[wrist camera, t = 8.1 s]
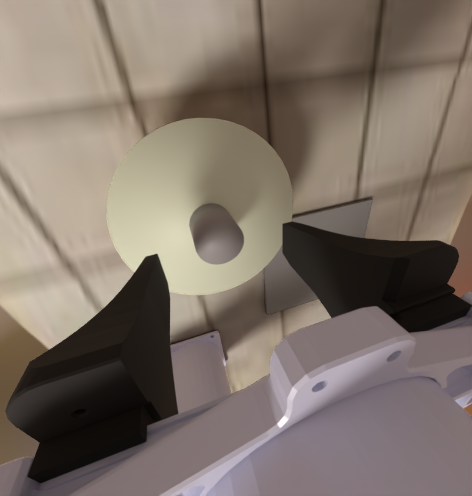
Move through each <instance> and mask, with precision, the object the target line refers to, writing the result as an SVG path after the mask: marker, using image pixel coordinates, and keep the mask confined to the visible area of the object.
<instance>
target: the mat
mask: <svg viewBox="0 0 472 496" xmlns="http://www.w3.org/2000/svg"><path fill="white" fill-rule="evenodd" d="M372 201H373V199H366V200H362V201H357V202H353V203H349V204H345V205H340V206H336V207H332V208H328V209H323V210H319V211H315V212H311V213H306V214H302V215H298V216H294V217H292V219H291V222H298V223H302V224H305V225H309V226H312V227H316V228H319V229H323V230H326V231H330V232H334V233H338V234H343V235H348V236H353V237H359V238H364V236H365V231H366V227H367V223H368V218H369V214H370V210H371V205H372ZM264 285H265V305H266V314H267V315H269V314H272V313H276V312H279V311H282V310H285V309H288V308H291V307H294V306H297V305H301V304H304V303H307V302H310V301H313V300H316V299H319V298H318V297H317V296H316V294H315V293H314V292H313V291H312V290H311V288H310V287H309V286H308V285H307V284H306V283H305V282H304V281H303V279H302V278H301V277H300V276H299V275H298V274H297V273H296V271H295V270H294V269H293V268H292V267H291V266H290V264H289V263H288V261H287V260H286V258H285V256H284V255H283V253H282V246H281V248H280V249H279V251H278V252H277V254H276V255H275V256H274V258H273V259H272V260H271V261H270V262H269V264H268V265H267V266H266V267H265V268H264Z"/></svg>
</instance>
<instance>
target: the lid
mask: <svg viewBox="0 0 472 496" xmlns="http://www.w3.org/2000/svg"><path fill="white" fill-rule="evenodd" d="M106 214H107V224H108V229H109V232H110V236H111V239H112V241H113V244H114V246H115V248H116V250H117V252H118V253H119V255H120V257H121V258H122V260H123V261H124V262H125V263H126V264H127V266H128V267H129V268H130V269H131V270H132V271H133V272H135V271H136V270H137V268H138V267H139V265H140V264H141V263H142V261H143V260H144V258H145V257H146V256H150V255H154V254H158V256H159V259H160V262H161V265H162V268H163V270H164V273H165V276H166V279H167V282H168V287H169V291H170V292H174V293H178V294H185V295H207V294H213V293H218V292H222V291H226V290H228V289H231V288H234V287H236V286H238V285H240V284H242V283H244V282H246V281H248V280H249V279H251V278H252V277H254V276H255V275H256V274H258V273H259V272H260V271H261V270H262V269H263V268H265V267H266V266H267V265H268V264H269V262H270V261H271V260H272V259H273V258H274V256H275V255H276V254H277V252H278V251H279V249H280V248H281V246H282V224H283V223H288V222H291V219H292V214H293V191H292V186H291V181H290V178H289V175H288V172H287V170H286V168H285V166H284V164H283V162H282V160H281V158H280V157H279V156H278V154H277V153H276V151H275V150H274V149H273V148H272V147H271V146H270V145H269V144H268V143H267V141H265V140H264V139H263V138H262V137H260V136H259V135H258V134H256V133H255V132H253V131H251V130H250V129H248V128H246V127H244V126H242V125H239V124H236V123H234V122H231V121H226V120H221V119H217V118H191V119H183V120H180V121H176V122H172V123H169V124H167V125H164V126H162V127H160V128H157V129H156V130H154V131H153V132H151V133H150V134H148V135H146V136H145V137H144V138H143V139H141V140H140V141H139V142H138V143H137V144H136V145H135V146H134V147H133V148H132V149H131V150H130V151H129V153H128V154H127V155H126V156H125V157H124V159H123V160H122V162H121V163H120V165H119V167H118V168H117V170H116V172H115V174H114V177H113V179H112V182H111V184H110V188H109V192H108V197H107V209H106Z"/></svg>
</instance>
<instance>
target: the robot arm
mask: <svg viewBox="0 0 472 496" xmlns="http://www.w3.org/2000/svg"><path fill="white" fill-rule="evenodd" d="M282 253H283V255H284V256H285V258H286V260H287V261H288V263H289V264H290V266H291V267H292V268H293V269H294V270H295V271H296V273H297V274H298V275H299V276H300V277H301V278H302V279H303V281H304V282H305V283H306V284H307V285H308V286H309V287H310V288H311V290H312V291H313V292H314V293H315V294H316V296H317V297H318V298H319V300H320V301H321V303H322V304H323V306H324V307H325V308H326V310H327V311H328V313H329V315H330V316H331V319H328V320H325V321H322V322H319V323H316V324H313V325H310V326H307V327H304V328H302V329H299V330H297V331H295V332H293V333H291V334H289V335H288V336H286V337H285V338H284V339H283V340H282V341H281V342H280V343H279V344H278V345H277V346H276V347H275V349H274V351H273V354H272V357H271V360H270V367H271V372H270V374H268V375H266V376H265V377H263V378H261V379H260V380H258V381H256V382H255V383H253V384H251V385H250V386H248V387H246V388H245V389H242V390H240V391H237V392H234V393H231V390H230V386H229V382H228V378H227V375H226V371H225V367H224V366H225V365H226V361H225V357H224V352H223V348H222V343H221V339H220V335H219V332H218V331H213V332H210V333H207V334H204V335H201V336H197V337H194V338H191V339H188V340H185V341H182V342H179V343H176V344H172V345H170V294H169V287H168V282H167V279H166V276H165V273H164V270H163V268H162V265H161V262H160V259H159V256H158V254H154V255H150V256H146V257H145V258H144V260H143V261H142V263H141V264H140V265H139V267H138V268H137V270H136V271H135V273H134V274H133V276H132V277H131V278H130V280H129V281H128V282H127V283H126V285H125V286H124V287H123V288H122V290H121V291H120V292H119V293H118V294H117V295H116V296H115V298H114V299H113V300H112V301H111V302H110V303H109V304H108V305H107V306H106V307H105V308H104V309H102V310H101V311H100V312H99V313H98V314H97V315H96V316H94V317H93V318H92V319H91V320H90V321H89V322H87V323H86V324H85V325H84V326H82V327H81V328H80V329H78V330H77V331H76V332H74V333H73V334H72V335H70V336H69V337H68V338H66V339H65V340H63V341H62V342H60V343H59V344H57V345H56V346H54V347H53V348H51V349H50V350H48V351H47V352H45V353H43V354H42V355H40V356H39V357H37V358H36V359H34V360H32V361H31V362H30V363H29V365H28V366H27V368H26V370H25V372H24V374H23V376H22V378H21V380H20V382H19V383H18V385H17V387H16V389H15V391H14V392H13V395H12V396H11V398H10V400H9V402H8V404H7V408H6V414H7V418H8V419H9V421H10V422H11V423H12V424H14V425H15V426H16V427H17V428H19V429H20V430H22V431H23V432H25V433H26V434H28V435H29V436H31V437H32V438H34V439H35V440H37V441H38V442H40V444H39V447H38V449H37V452H36V455H35V457H22V458H18V459H15V460H12V461H10V462H7V463H4V464H1V465H0V496H472V416H471V415H470V414H468V413H467V412H466V411H465V410H464V409H463V408H465V407H467V406H468V405H470V404H472V291H471V292H468V293H466V294H464V295H463V296H462V297H461V298H459V297H457V296H456V295H454V294H452V293H454V292H455V289H454V288H453V287H451V286H449V285H448V284H447V283H448V281H449V279H450V277H451V275H452V273H453V271H454V269H455V268H456V265H457V263H458V258H459V254H458V251H457V249H456V248H455V247H453V246H451V245H448V244H446V243H444V242H441V241H437V240H434V241H390V240H376V239H367V238H359V237H353V236H348V235H343V234H338V233H334V232H330V231H326V230H323V229H319V228H316V227H312V226H309V225H305V224H302V223H298V222H288V223H283V224H282Z"/></svg>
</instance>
